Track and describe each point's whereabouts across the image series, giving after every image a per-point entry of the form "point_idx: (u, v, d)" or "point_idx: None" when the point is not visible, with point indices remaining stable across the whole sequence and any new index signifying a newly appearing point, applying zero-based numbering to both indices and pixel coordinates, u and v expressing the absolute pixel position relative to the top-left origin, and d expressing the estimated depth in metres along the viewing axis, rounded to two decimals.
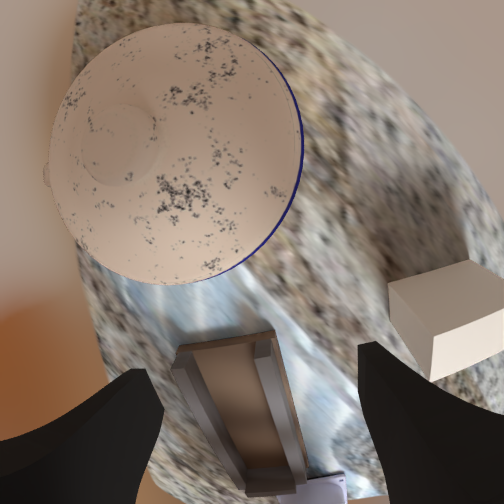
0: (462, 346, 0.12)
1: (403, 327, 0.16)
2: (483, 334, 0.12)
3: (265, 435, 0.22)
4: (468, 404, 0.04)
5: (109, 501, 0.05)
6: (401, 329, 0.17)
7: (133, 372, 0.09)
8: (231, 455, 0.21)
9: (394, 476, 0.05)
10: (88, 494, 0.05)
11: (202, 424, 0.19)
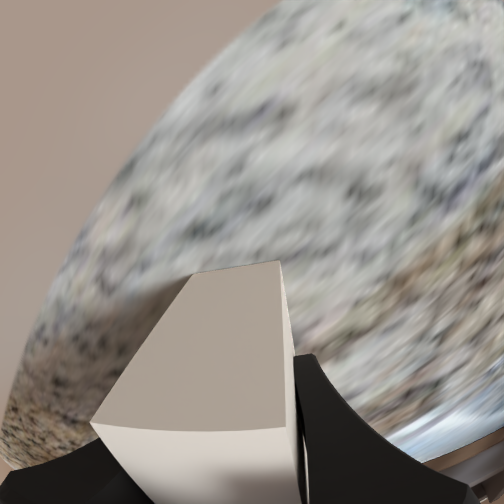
0: None
1: None
2: None
3: None
4: (374, 435, 0.04)
5: None
6: None
7: None
8: None
9: None
10: None
11: None
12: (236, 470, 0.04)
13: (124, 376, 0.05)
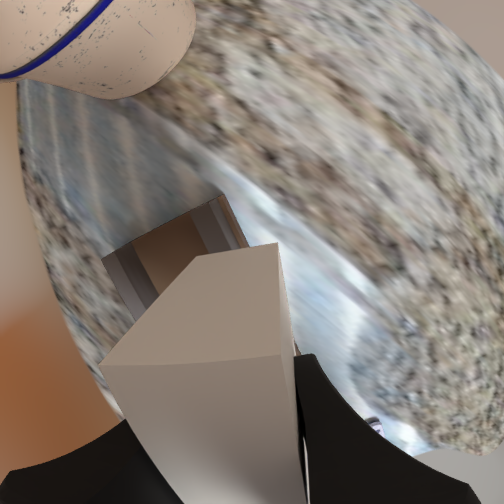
0: None
1: None
2: (218, 489, 0.05)
3: None
4: (375, 435, 0.04)
5: None
6: None
7: None
8: None
9: None
10: None
11: None
12: (235, 410, 0.04)
13: (132, 330, 0.05)
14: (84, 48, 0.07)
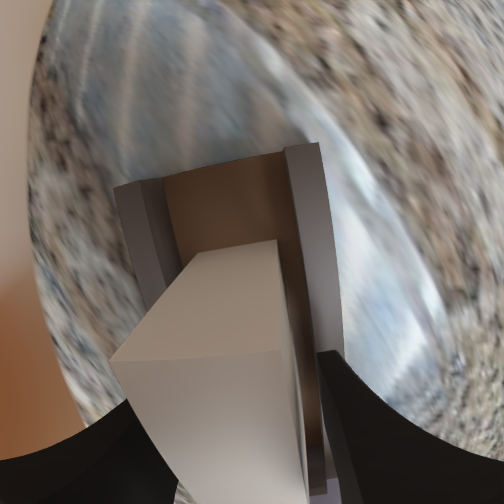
0: (242, 503, 0.06)
1: None
2: (221, 478, 0.05)
3: None
4: (411, 425, 0.04)
5: None
6: None
7: None
8: None
9: (342, 488, 0.05)
10: None
11: None
12: (238, 401, 0.05)
13: (139, 326, 0.06)
14: None
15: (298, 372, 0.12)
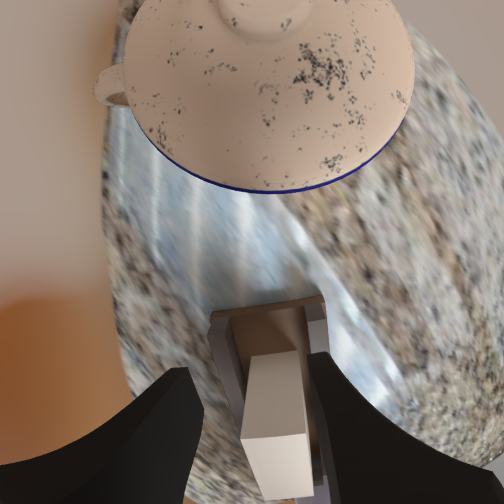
0: (282, 486, 0.13)
1: None
2: (276, 474, 0.13)
3: None
4: (397, 429, 0.04)
5: None
6: None
7: (175, 371, 0.09)
8: None
9: (330, 490, 0.05)
10: None
11: (233, 404, 0.17)
12: (289, 447, 0.12)
13: (244, 420, 0.13)
14: None
15: None
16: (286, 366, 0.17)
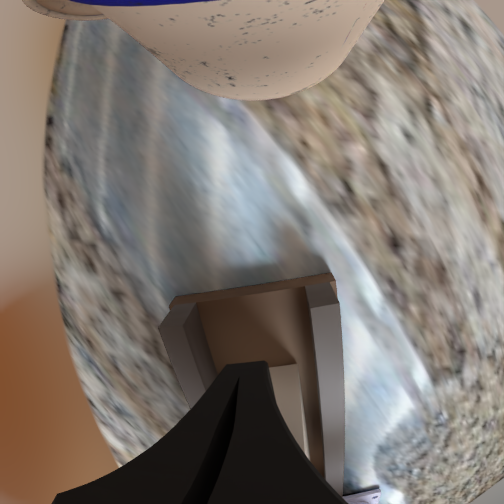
0: None
1: None
2: None
3: None
4: (294, 450, 0.04)
5: None
6: None
7: (233, 367, 0.09)
8: None
9: None
10: None
11: None
12: None
13: None
14: (280, 15, 0.04)
15: None
16: (280, 388, 0.11)
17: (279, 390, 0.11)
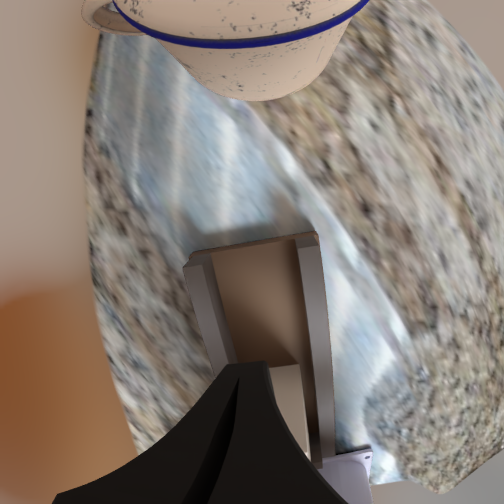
0: None
1: None
2: None
3: None
4: (294, 450, 0.04)
5: None
6: None
7: (233, 367, 0.09)
8: None
9: None
10: None
11: (214, 359, 0.16)
12: None
13: None
14: (272, 52, 0.08)
15: (307, 425, 0.19)
16: (287, 381, 0.16)
17: (287, 382, 0.16)
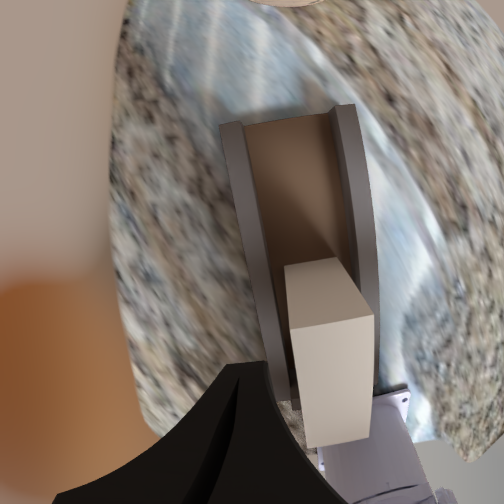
0: (334, 420, 0.11)
1: None
2: (329, 399, 0.11)
3: None
4: (294, 450, 0.04)
5: None
6: None
7: (233, 367, 0.09)
8: (278, 318, 0.16)
9: None
10: None
11: (247, 235, 0.14)
12: (351, 342, 0.10)
13: (291, 312, 0.11)
14: None
15: None
16: (328, 268, 0.15)
17: (327, 268, 0.15)
